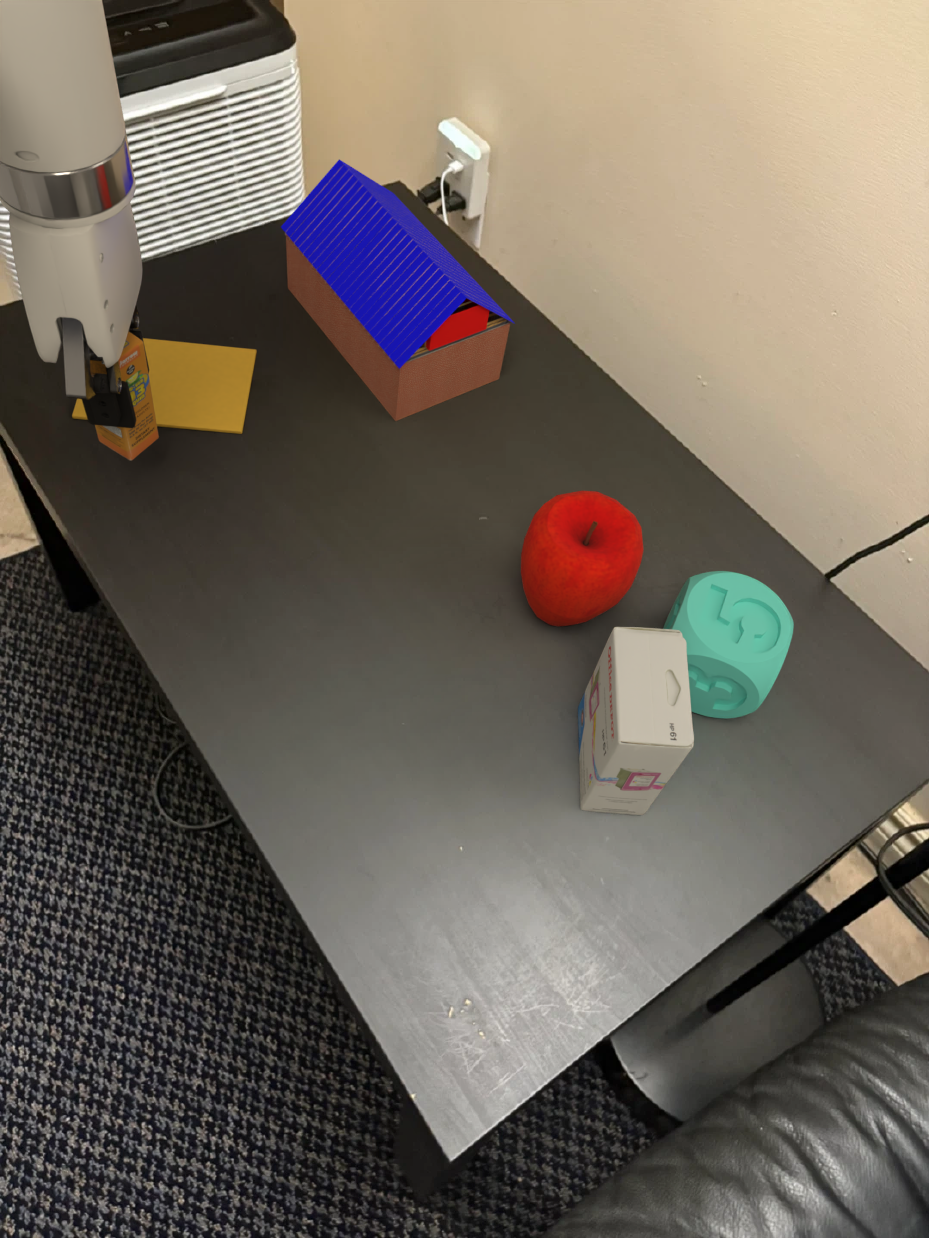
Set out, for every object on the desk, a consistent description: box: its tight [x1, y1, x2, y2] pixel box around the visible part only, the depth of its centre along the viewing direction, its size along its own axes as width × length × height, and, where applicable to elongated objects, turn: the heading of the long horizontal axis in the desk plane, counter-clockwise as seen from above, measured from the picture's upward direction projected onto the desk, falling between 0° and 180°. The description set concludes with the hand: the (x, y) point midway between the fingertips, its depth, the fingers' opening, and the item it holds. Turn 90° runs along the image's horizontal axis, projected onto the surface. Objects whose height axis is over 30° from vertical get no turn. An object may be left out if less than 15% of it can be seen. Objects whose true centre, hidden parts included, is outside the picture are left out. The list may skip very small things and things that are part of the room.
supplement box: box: [90, 331, 160, 462], centre depth 69 cm, size 3×3×10 cm
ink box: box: [577, 626, 695, 816], centre depth 66 cm, size 8×5×12 cm, turn 178°
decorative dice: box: [662, 570, 795, 719], centre depth 72 cm, size 8×8×8 cm
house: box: [280, 159, 515, 422], centre depth 86 cm, size 12×20×12 cm, turn 34°
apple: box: [520, 490, 644, 627], centre depth 73 cm, size 9×9×11 cm
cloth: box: [71, 337, 258, 435], centre depth 84 cm, size 14×10×1 cm
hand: (119, 396), depth 69 cm, fingers closed on supplement box, 4 cm apart
